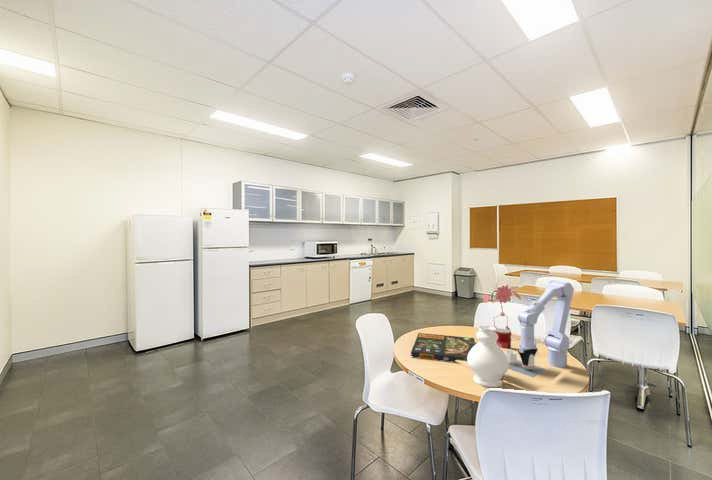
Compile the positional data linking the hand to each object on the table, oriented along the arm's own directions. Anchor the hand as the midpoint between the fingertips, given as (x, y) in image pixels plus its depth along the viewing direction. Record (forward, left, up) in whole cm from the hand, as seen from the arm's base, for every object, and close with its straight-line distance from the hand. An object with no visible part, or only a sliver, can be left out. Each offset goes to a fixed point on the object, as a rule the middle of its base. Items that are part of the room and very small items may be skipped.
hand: (527, 363), depth 149 cm
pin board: (0, -4, -4) cm, 6 cm away
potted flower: (-43, -34, -4) cm, 55 cm away
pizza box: (+7, -45, -5) cm, 45 cm away
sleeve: (0, 0, -2) cm, 2 cm away
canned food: (-22, -24, -4) cm, 32 cm away
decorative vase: (+24, -8, -4) cm, 26 cm away
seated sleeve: (0, -9, -3) cm, 9 cm away
